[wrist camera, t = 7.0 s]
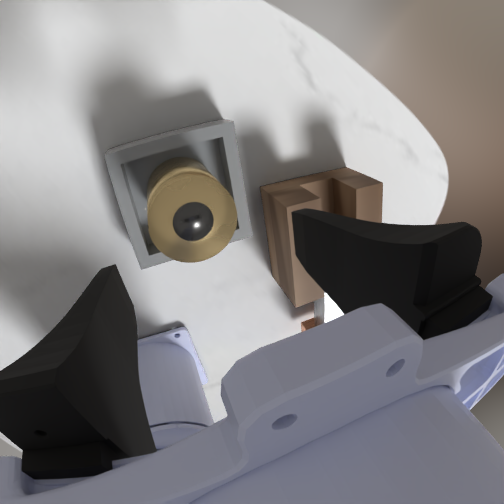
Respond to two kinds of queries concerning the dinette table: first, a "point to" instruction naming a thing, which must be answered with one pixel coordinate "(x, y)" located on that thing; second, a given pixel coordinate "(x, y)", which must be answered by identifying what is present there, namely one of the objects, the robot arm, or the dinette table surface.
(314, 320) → the shaft
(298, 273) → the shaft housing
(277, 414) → the robot arm
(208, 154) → the socket
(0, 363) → the dinette table surface
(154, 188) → the pepper mill
